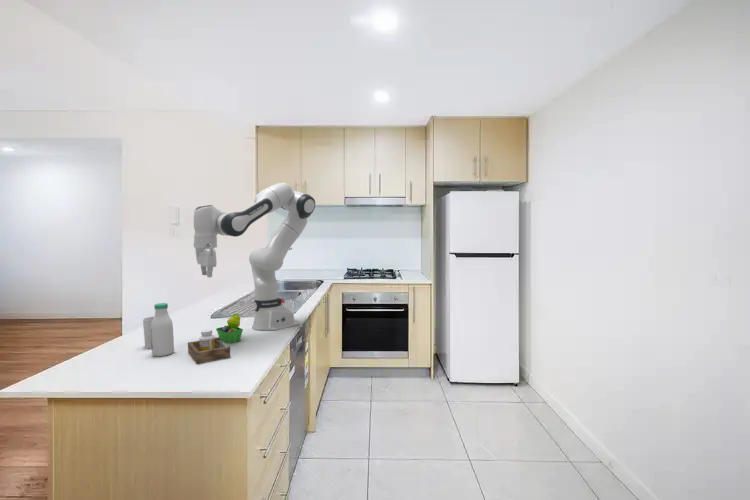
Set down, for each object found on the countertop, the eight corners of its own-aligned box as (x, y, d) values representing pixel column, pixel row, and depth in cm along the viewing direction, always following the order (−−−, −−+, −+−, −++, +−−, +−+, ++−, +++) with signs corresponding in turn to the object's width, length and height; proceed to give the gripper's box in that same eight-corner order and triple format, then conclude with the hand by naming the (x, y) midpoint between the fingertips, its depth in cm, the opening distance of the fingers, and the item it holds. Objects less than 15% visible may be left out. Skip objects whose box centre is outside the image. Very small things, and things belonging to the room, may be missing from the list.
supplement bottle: (210, 351, 156) (209, 327, 156) (217, 354, 153) (216, 330, 152) (197, 355, 152) (196, 330, 152) (204, 358, 149) (203, 333, 148)
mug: (157, 348, 161) (156, 319, 160) (140, 348, 161) (139, 320, 160) (169, 341, 171) (168, 314, 171) (154, 341, 171) (152, 314, 170)
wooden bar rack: (219, 346, 163) (218, 336, 163) (230, 357, 149) (230, 347, 149) (187, 351, 156) (187, 342, 156) (197, 364, 142) (196, 353, 142)
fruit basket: (215, 339, 173) (214, 314, 173) (234, 335, 180) (233, 311, 179) (227, 344, 166) (226, 318, 165) (246, 340, 172) (246, 314, 171)
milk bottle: (178, 351, 157) (176, 302, 156) (162, 357, 150) (160, 306, 148) (163, 349, 160) (161, 301, 158) (147, 355, 152) (144, 305, 151)
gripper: (219, 244, 158) (221, 278, 159) (208, 242, 175) (209, 273, 176) (203, 244, 155) (204, 279, 155) (192, 243, 171) (194, 274, 172)
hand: (206, 276), depth 166 cm, fingers open, 8 cm apart
